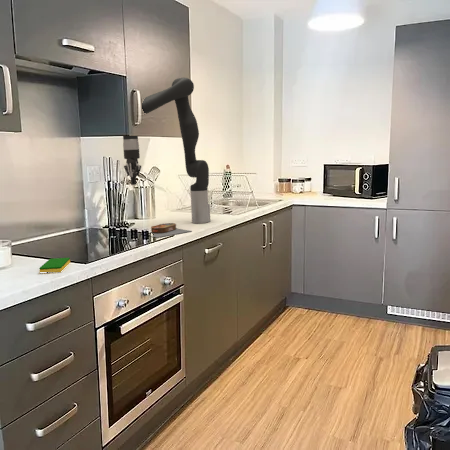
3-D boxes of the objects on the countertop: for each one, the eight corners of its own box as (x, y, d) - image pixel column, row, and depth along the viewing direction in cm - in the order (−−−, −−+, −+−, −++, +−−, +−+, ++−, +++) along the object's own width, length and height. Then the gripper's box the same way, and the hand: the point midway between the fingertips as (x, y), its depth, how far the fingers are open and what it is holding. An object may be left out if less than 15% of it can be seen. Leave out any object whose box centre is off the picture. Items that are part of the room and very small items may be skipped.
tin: (165, 222, 236) (179, 222, 232) (165, 229, 237) (179, 228, 233) (147, 227, 223) (161, 227, 219) (148, 234, 224) (162, 233, 220)
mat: (174, 228, 235) (174, 227, 235) (191, 231, 225) (191, 230, 225) (140, 234, 222) (140, 233, 222) (156, 238, 212) (156, 237, 212)
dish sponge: (39, 274, 157) (38, 267, 156) (50, 265, 170) (49, 258, 170) (61, 273, 157) (60, 266, 157) (70, 263, 171) (70, 257, 170)
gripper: (145, 148, 225) (147, 184, 228) (131, 149, 235) (133, 183, 238) (131, 148, 220) (134, 185, 223) (117, 149, 230) (120, 184, 233)
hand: (133, 184), depth 230 cm, fingers closed
